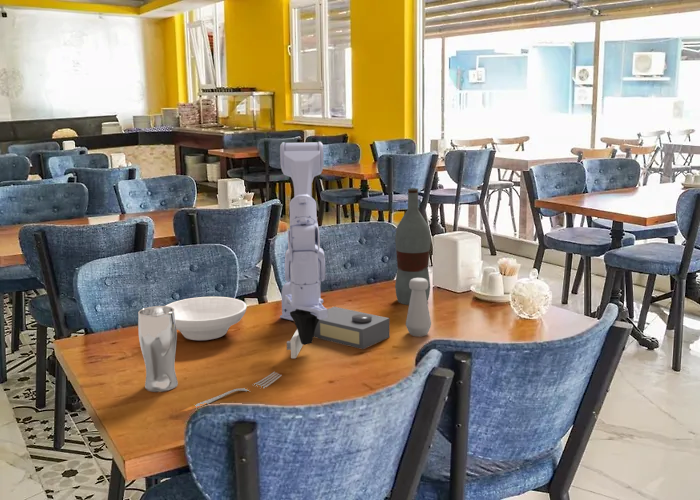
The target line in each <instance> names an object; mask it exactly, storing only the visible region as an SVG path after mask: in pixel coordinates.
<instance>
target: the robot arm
mask: <svg viewBox="0 0 700 500" xmlns="http://www.w3.org/2000/svg"><path fill="white" fill-rule="evenodd" d="M279 155H280V158H279V159H280V161H279V163H280V169H281V172H282V173H283V176H286V177H289V178H291V180H292V183H293V192H294V193H293V194H294V197H293V198H292V199H290V201H289V228H287V249H286V252H285V254H284V278H285V279H284V281H286V282H285V283H284V284H283V286H282V288H281V295H280V296H281V315H280V316H279V318H281V319H284V320H289V321H293V322H294V325H295V327H296V330H298V334H299V337H300V341H301V344H303V346H306V345H310V344H312V343H313V341H314V338H315V337H314V332H315V329H316V326H317V323H318V321H319V320H320V319H325V318H328V312H327V309H328V308H327V307H325V306H324V305H323V304H324V299H323V298H321V297H322V296H321V285H322V284H321V283H322V282H324V281H326V258H325V251H324V249H323V248H321V245H320V243H321V242H320V228H319V224H318V223H319V222H318V219H317V214H318V212H317V201H316V200H315V198H313V195H312V194H313V190H312V188H313V187H312V183H313V181H314V178H315V177H317V176H319V175H322V172H323V170H324V169H323V168H324V144H323V143H322V141H318V142H317V141H316V142H285V141H283V142H281V144H280V146H279Z"/></svg>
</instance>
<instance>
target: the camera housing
mask: <svg viewBox="0 0 700 500" xmlns="http://www.w3.org/2000/svg"><path fill="white" fill-rule="evenodd" d="M326 309H327V312H328V318H325V319H320V320H319V321H318V323H317V326H316V329H315V332H314V337H313V338H316V339H320V340H323V341H327V342H332V343H335V344H340V345H345V346H349V347H353V348H356V349H360V350H364V349H367V348H370V347H371V346H373V345H376V344H377V343H380V342H382V341H384V340H386V339H388V338H390V317H385V316H381V315H380V316H379V315H376V314H372V313H366V312H362V311H357V310H351V309H348V308H342V307H337V306H333V307H330V308H326Z"/></svg>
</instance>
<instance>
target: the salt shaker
mask: <svg viewBox="0 0 700 500" xmlns="http://www.w3.org/2000/svg"><path fill="white" fill-rule="evenodd" d="M409 287H410V289H412V292H411V298H410V303H409V305H408V309H407V316H406V320H405V326H406V329H407V331H408V334H409V335H411V336H413V337H424V336H427V335H428V334H429V331H430V329H431V326H432V321H431V315H430V310H429V305H428V301H427V298H426V292H425V290H426V289H427V288H428V281H427V280H426V279H424V278H413V279H411V280H410V282H409Z"/></svg>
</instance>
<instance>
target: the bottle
mask: <svg viewBox="0 0 700 500" xmlns="http://www.w3.org/2000/svg"><path fill="white" fill-rule="evenodd" d="M407 191H408V192H407V210H406V211H405V213H404V214H403V216H402V217H401V219H400V221H399V223H398V224H397V227H396V231H395V238H394V239H395V240H394V242H395V243H394V244H395V250H396V265H397V267H396V269H397V271H396V277H395V285H394V288H395V296H396V300H397V302H398V303H400V304H402V305H406V306H409V303H410V298H411V292H412V289H410V287H409V282H410V280H411V279H413V278H424V279H426V280H427V281H428V288H427V289H426V290H425V292H426V298H427V302H428V301H429V298H430V295H431V293H430V291H431V280H430V274H429V263H430V262H429V261H430V251H431V250H430V248H431V233H430V232H431V230H430V226H429V225H428V223H427V221H426V219H425V218H424V216H423V215H422V213H421V212H420V209H419V189H418V188H417V187H416V188H414V187H412V188H411V187H409V188H408V189H407Z"/></svg>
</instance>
